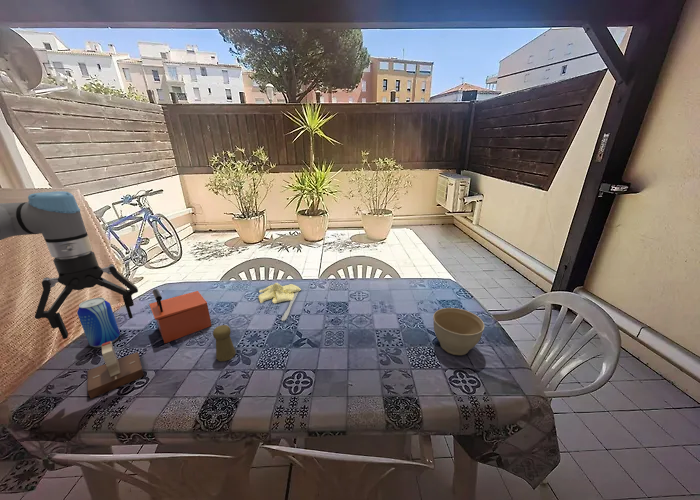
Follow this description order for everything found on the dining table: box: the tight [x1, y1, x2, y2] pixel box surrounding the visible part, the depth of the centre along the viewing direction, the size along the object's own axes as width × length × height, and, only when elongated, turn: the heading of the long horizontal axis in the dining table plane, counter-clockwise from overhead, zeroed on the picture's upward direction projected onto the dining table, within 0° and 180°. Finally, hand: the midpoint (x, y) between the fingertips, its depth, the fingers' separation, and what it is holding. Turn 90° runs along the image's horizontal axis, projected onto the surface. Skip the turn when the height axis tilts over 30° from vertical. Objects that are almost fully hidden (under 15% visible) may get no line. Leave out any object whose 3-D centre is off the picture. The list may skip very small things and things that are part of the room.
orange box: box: [155, 304, 212, 344], centre depth 103 cm, size 16×13×10 cm
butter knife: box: [280, 291, 300, 322], centre depth 121 cm, size 1×27×3 cm
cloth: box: [258, 282, 302, 304], centre depth 129 cm, size 22×19×6 cm
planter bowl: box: [432, 307, 485, 356], centre depth 93 cm, size 16×16×11 cm
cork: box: [212, 324, 237, 362], centre depth 88 cm, size 6×6×11 cm
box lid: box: [148, 288, 208, 321], centre depth 100 cm, size 16×13×7 cm
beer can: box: [76, 297, 121, 348], centre depth 94 cm, size 8×8×16 cm
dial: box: [101, 341, 120, 377], centre depth 79 cm, size 6×2×8 cm, turn 42°
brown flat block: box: [87, 351, 145, 399], centre depth 81 cm, size 12×10×3 cm
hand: (100, 325), depth 75 cm, fingers open, 13 cm apart
